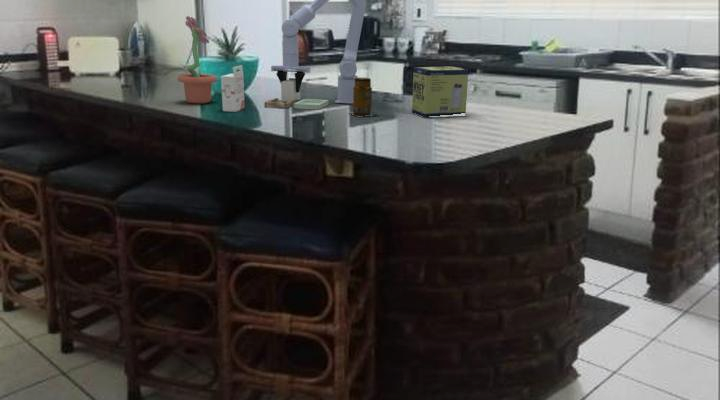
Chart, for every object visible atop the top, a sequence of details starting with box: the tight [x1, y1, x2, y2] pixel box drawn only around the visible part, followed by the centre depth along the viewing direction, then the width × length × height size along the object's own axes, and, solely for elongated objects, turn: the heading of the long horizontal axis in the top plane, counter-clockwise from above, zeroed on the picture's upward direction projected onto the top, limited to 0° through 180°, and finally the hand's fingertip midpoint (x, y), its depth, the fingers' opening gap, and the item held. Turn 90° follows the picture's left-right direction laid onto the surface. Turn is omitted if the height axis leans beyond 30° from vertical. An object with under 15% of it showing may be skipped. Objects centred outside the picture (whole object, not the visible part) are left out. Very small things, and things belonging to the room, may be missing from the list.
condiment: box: [352, 77, 373, 118], centre depth 209 cm, size 7×8×12 cm
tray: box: [293, 98, 329, 111], centre depth 225 cm, size 9×13×2 cm
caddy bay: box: [264, 97, 298, 110], centre depth 225 cm, size 8×11×2 cm
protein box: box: [411, 65, 469, 118], centre depth 211 cm, size 10×16×16 cm
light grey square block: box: [280, 77, 301, 102], centre depth 234 cm, size 4×8×8 cm, turn 166°
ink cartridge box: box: [220, 64, 246, 113], centre depth 214 cm, size 9×5×15 cm, turn 168°
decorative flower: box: [177, 15, 218, 105], centre depth 225 cm, size 15×14×30 cm
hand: (291, 91), depth 234 cm, fingers closed on light grey square block, 4 cm apart
